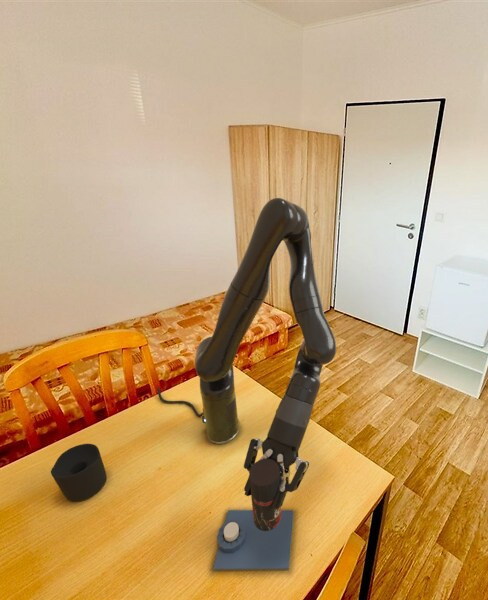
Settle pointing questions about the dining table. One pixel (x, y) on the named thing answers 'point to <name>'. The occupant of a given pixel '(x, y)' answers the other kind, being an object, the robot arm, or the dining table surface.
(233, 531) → the button
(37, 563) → the dining table surface
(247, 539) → the scale
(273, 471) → the deodorant
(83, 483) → the pen holder
